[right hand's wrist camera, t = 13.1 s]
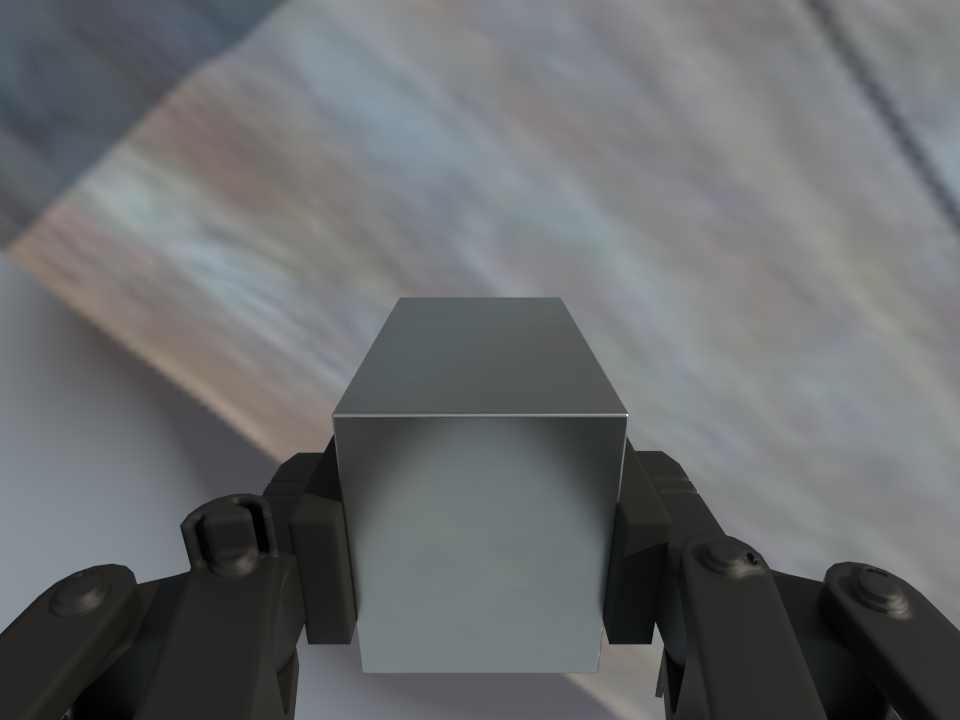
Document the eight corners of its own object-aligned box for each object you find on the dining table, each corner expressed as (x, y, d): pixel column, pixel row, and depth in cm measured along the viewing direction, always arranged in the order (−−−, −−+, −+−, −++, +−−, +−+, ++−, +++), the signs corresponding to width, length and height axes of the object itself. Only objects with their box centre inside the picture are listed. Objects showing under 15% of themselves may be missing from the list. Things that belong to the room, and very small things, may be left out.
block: (561, 297, 15) (630, 414, 8) (551, 467, 17) (598, 675, 10) (399, 297, 15) (330, 413, 8) (409, 467, 17) (362, 675, 10)
